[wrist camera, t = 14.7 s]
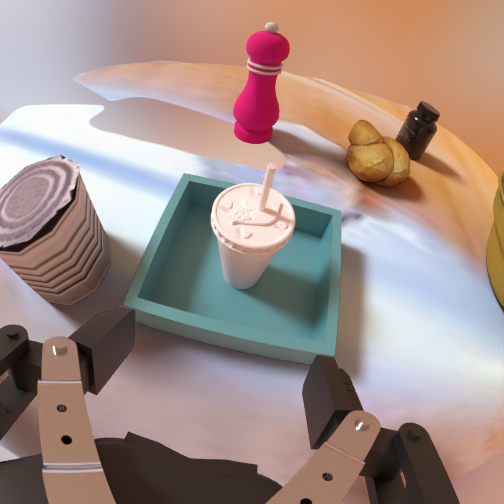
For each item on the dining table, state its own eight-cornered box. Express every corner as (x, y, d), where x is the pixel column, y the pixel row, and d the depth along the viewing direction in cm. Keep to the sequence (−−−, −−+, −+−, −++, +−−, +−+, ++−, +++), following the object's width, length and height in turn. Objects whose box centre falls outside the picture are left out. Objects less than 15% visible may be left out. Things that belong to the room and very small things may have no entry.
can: (32, 314, 23) (-32, 261, 13) (37, 234, 28) (-4, 170, 18) (116, 296, 26) (71, 227, 16) (110, 214, 32) (84, 137, 22)
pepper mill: (263, 121, 46) (284, 19, 30) (281, 143, 43) (309, 31, 26) (225, 125, 44) (237, 16, 27) (239, 148, 41) (258, 25, 24)
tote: (137, 322, 25) (122, 304, 21) (185, 202, 34) (183, 173, 30) (314, 365, 25) (334, 355, 21) (326, 236, 34) (341, 211, 30)
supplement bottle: (412, 144, 52) (435, 105, 42) (423, 164, 49) (449, 122, 39) (389, 137, 52) (411, 94, 42) (399, 156, 48) (425, 110, 38)
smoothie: (283, 286, 28) (333, 190, 17) (227, 312, 26) (243, 220, 14) (252, 238, 31) (278, 133, 19) (199, 259, 29) (197, 150, 17)
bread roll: (398, 166, 46) (417, 135, 39) (411, 203, 41) (435, 170, 34) (338, 147, 45) (353, 111, 39) (344, 183, 40) (363, 143, 33)
